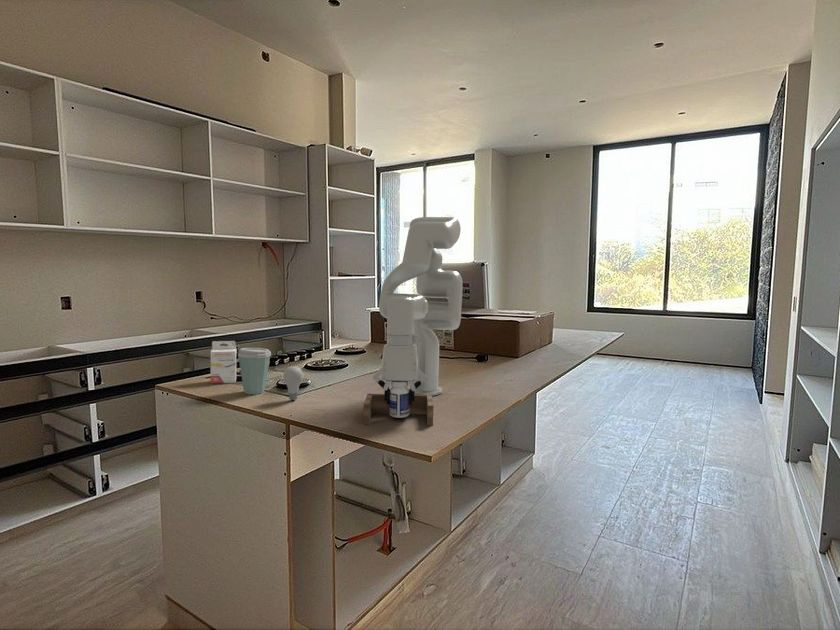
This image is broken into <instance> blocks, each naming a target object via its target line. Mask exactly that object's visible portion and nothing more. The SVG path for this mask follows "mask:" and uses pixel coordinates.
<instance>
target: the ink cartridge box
mask: <svg viewBox="0 0 840 630" xmlns="http://www.w3.org/2000/svg"><path fill="white" fill-rule="evenodd" d="M223 344H224V345H223ZM236 347H237V346H236V341H235V340H218V341H215V340H213V341H212V342H211V350H210V384H211V385H213V384H234V383H236V382H237V349H236Z"/></svg>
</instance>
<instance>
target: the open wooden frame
mask: <svg viewBox="0 0 840 630" xmlns="http://www.w3.org/2000/svg"><path fill="white" fill-rule="evenodd" d="M362 409H363V412H362V413H363V420H362V422H363V423H362V424H363V425H370V422H371V418H372V415H373V414H384V415H386V414H387V415H388V414H389V404H388V405H387V401H384V393H367V394H366V397H365V400H364V402H363V408H362ZM389 415H390V414H389ZM409 415H426V424H427V426H434V400H433V396H432V395H414V401H412V405H410V404H409Z"/></svg>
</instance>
